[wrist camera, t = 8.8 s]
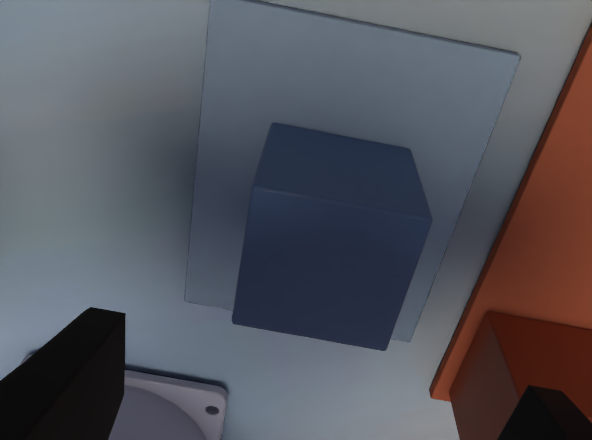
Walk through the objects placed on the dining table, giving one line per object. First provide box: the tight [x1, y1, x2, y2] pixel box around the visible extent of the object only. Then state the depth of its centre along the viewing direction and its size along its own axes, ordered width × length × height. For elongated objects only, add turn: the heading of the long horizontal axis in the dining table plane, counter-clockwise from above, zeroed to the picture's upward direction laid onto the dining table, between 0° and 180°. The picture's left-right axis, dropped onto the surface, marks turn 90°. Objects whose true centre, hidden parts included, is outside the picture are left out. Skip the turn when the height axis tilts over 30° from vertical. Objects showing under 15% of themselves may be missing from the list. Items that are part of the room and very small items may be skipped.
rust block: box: [449, 311, 592, 440], centre depth 17 cm, size 4×4×4 cm
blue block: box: [232, 123, 433, 351], centre depth 14 cm, size 4×4×4 cm
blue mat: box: [184, 0, 521, 342], centre depth 16 cm, size 10×8×1 cm
